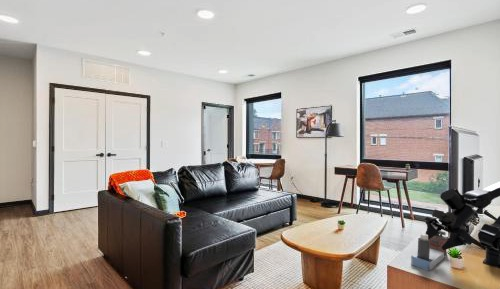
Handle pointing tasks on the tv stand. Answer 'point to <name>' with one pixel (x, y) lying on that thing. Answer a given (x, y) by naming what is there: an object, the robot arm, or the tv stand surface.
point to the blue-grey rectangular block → (433, 260)
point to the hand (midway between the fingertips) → (433, 244)
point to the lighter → (438, 242)
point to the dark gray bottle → (423, 247)
